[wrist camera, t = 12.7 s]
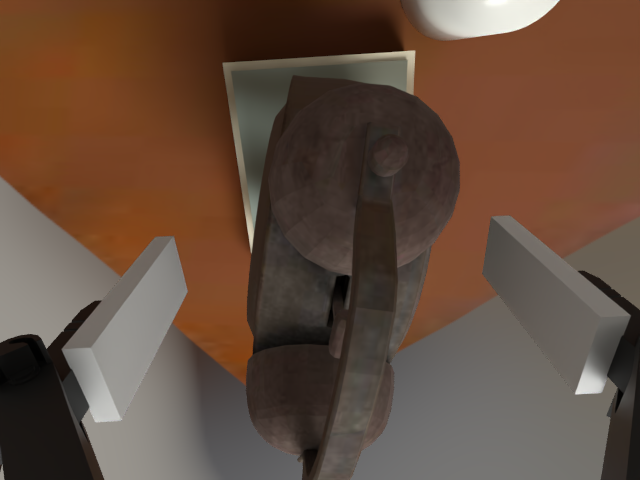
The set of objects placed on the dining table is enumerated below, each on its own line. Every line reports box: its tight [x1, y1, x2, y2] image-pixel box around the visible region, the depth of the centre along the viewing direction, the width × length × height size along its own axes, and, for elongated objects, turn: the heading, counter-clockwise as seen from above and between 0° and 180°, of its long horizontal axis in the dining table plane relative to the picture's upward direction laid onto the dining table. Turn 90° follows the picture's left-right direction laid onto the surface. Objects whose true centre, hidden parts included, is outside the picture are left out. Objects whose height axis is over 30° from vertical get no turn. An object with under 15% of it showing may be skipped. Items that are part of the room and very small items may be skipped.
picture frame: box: [223, 51, 415, 253], centre depth 28 cm, size 16×12×3 cm
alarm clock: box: [246, 75, 460, 480], centre depth 18 cm, size 14×7×20 cm, turn 171°
